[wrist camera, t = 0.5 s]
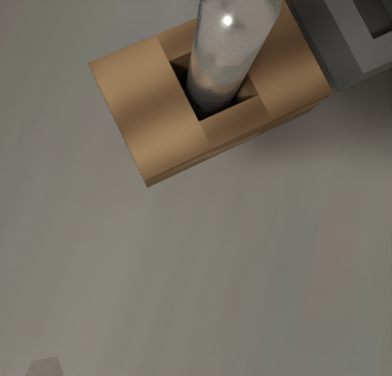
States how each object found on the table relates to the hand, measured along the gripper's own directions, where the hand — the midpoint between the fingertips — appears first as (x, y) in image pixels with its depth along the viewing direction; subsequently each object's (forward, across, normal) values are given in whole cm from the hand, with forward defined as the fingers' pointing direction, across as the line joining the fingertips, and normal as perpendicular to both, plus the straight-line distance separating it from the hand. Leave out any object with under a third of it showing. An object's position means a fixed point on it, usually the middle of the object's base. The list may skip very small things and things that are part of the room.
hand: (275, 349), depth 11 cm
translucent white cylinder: (+32, +2, +4) cm, 32 cm away
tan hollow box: (+32, +2, +4) cm, 32 cm away
